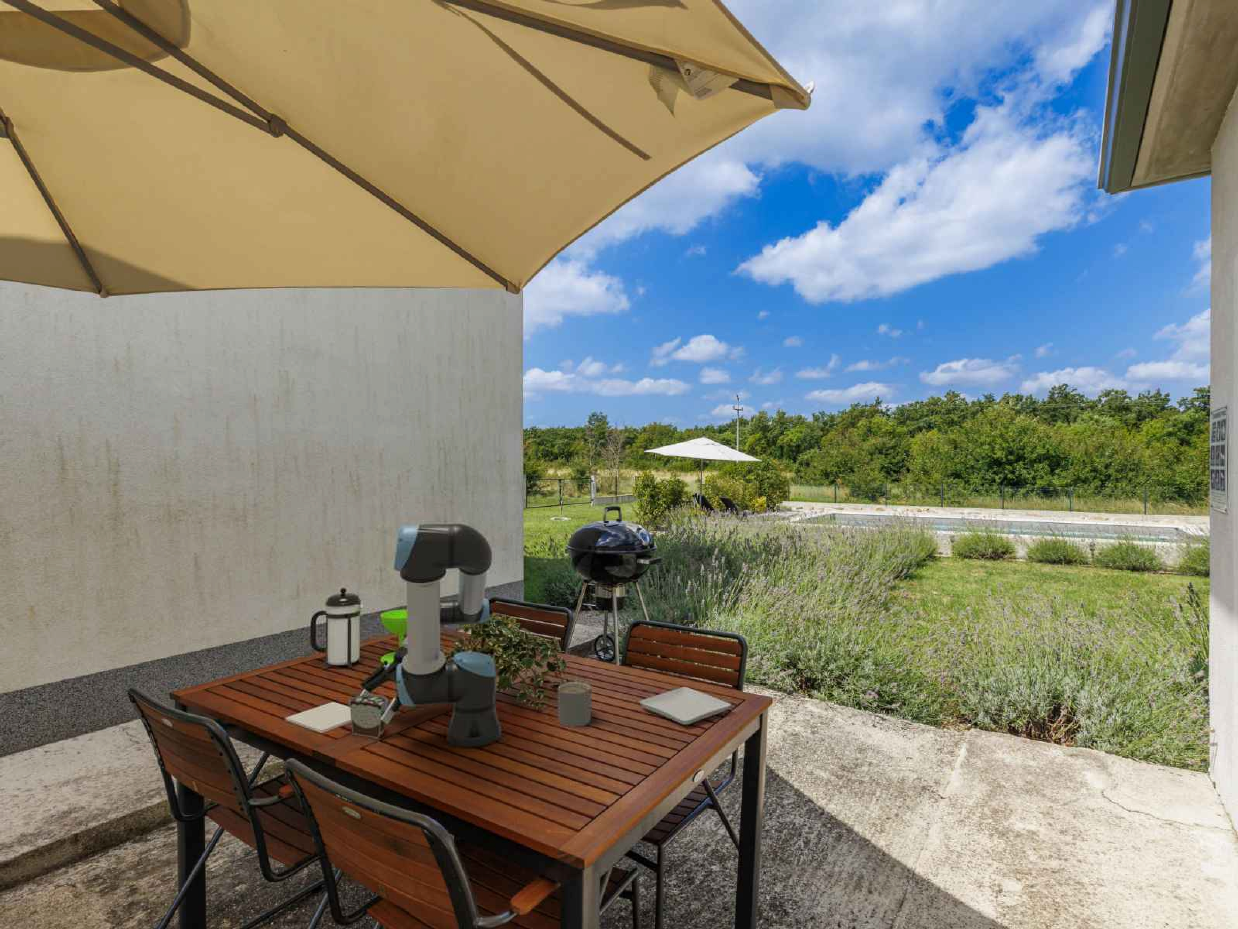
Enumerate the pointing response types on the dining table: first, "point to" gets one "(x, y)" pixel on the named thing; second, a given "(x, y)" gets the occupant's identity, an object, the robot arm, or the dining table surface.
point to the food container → (368, 715)
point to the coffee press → (340, 629)
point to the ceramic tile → (323, 717)
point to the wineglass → (394, 628)
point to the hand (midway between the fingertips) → (368, 716)
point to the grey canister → (574, 704)
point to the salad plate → (685, 705)
